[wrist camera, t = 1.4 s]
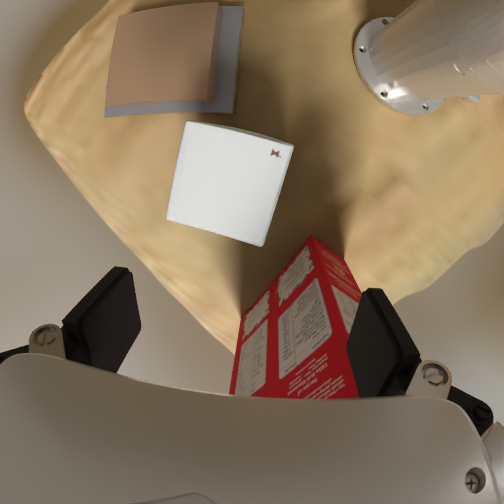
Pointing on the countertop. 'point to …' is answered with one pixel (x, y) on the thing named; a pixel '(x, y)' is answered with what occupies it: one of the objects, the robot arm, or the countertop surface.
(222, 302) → the countertop surface
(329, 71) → the countertop surface
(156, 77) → the pedestal
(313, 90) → the countertop surface
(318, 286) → the food packaging
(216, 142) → the supplement box
